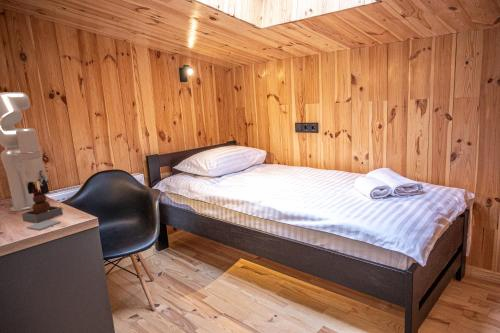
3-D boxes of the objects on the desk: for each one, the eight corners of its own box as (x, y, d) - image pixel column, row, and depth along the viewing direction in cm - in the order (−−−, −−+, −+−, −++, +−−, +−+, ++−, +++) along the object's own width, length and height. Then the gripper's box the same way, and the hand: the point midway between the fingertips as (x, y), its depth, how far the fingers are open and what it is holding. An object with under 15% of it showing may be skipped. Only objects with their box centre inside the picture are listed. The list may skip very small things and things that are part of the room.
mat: (26, 228, 136) (26, 227, 136) (48, 221, 144) (47, 219, 144) (39, 230, 132) (39, 229, 132) (60, 222, 140) (60, 221, 140)
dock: (23, 220, 147) (21, 212, 146) (48, 212, 157) (47, 204, 157) (37, 223, 142) (35, 214, 142) (62, 214, 153) (61, 206, 152)
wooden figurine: (33, 221, 146) (26, 188, 143) (36, 217, 151) (29, 186, 148) (50, 217, 148) (44, 186, 146) (52, 214, 154) (46, 184, 151)
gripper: (11, 158, 145) (19, 195, 148) (33, 157, 137) (42, 196, 140) (28, 155, 152) (36, 190, 154) (51, 154, 144) (58, 191, 147)
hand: (39, 193), depth 147 cm, fingers open, 9 cm apart
